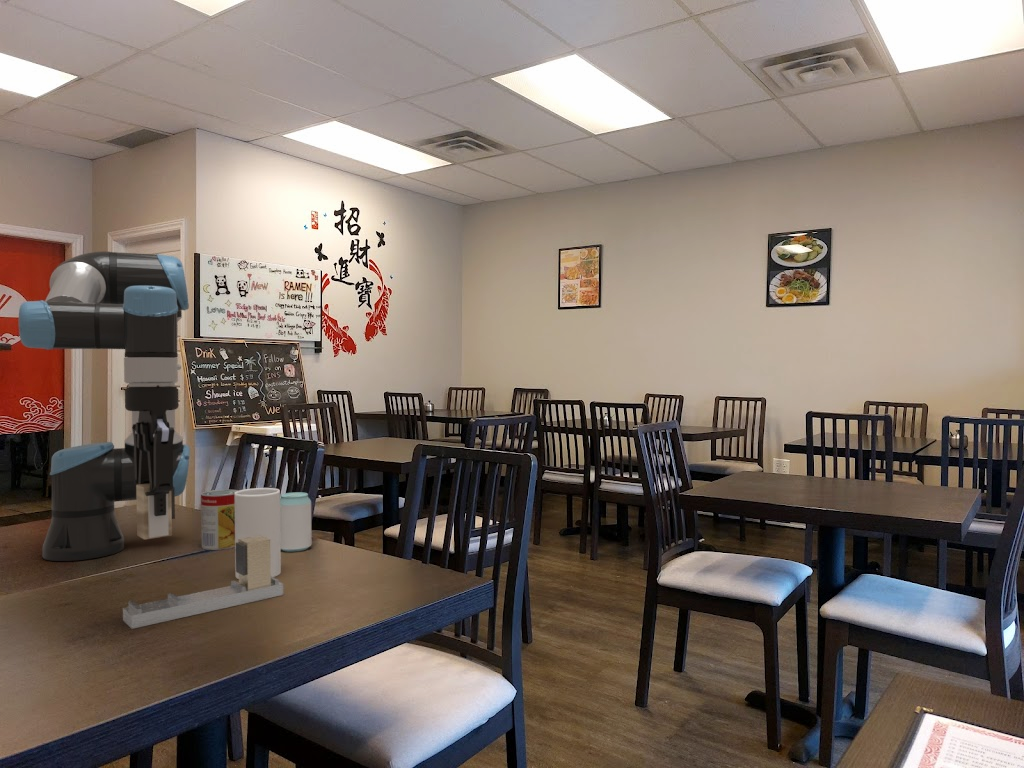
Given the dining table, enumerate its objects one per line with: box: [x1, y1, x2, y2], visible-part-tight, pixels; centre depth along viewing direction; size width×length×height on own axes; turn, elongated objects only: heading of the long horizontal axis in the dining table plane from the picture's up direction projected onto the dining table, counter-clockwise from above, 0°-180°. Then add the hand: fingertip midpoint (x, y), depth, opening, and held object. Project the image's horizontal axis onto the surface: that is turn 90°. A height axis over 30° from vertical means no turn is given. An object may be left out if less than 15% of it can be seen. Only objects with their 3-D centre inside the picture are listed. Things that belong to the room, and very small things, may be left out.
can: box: [280, 491, 313, 553], centre depth 157 cm, size 7×7×12 cm
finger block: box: [136, 483, 176, 540], centre depth 113 cm, size 5×4×8 cm
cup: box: [234, 487, 282, 580], centre depth 137 cm, size 8×8×16 cm
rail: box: [122, 535, 284, 630], centre depth 118 cm, size 5×24×10 cm, turn 132°
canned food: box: [200, 488, 239, 551], centre depth 160 cm, size 8×8×12 cm
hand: (154, 533), depth 112 cm, fingers closed on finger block, 4 cm apart
